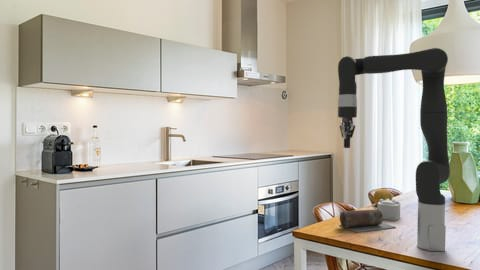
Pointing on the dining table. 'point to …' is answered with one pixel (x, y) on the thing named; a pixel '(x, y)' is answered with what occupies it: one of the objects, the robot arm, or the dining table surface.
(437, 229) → the robot arm
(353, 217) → the dark brown tall block
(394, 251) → the dining table surface
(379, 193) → the potato
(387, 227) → the mat
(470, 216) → the dining table surface
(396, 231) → the dining table surface
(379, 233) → the dining table surface
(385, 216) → the lumpy-topped squat cylinder
